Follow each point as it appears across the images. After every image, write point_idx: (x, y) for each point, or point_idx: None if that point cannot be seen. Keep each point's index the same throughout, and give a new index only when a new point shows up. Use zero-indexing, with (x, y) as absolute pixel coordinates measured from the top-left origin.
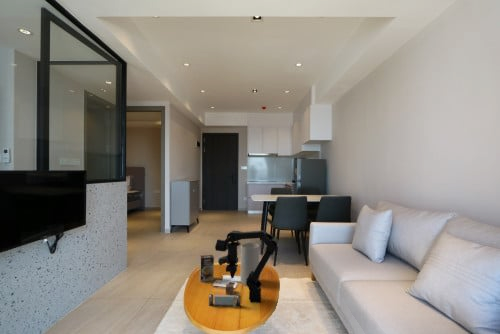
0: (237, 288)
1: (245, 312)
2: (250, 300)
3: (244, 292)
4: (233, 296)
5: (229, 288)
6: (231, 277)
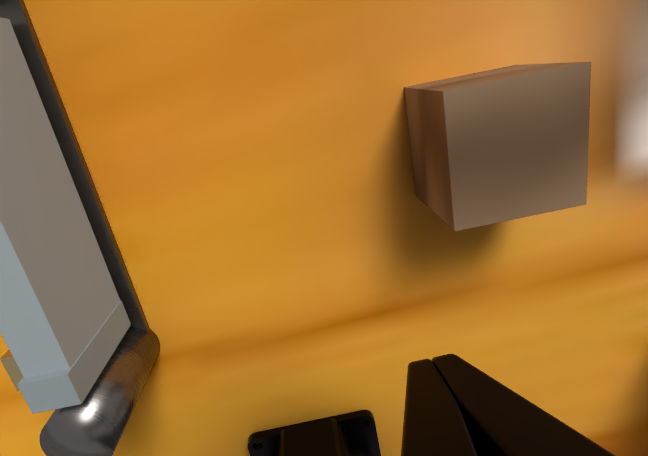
0: (601, 205)
1: (18, 445)
2: (272, 440)
3: (487, 319)
4: (38, 371)
5: (440, 162)
6: (409, 387)
